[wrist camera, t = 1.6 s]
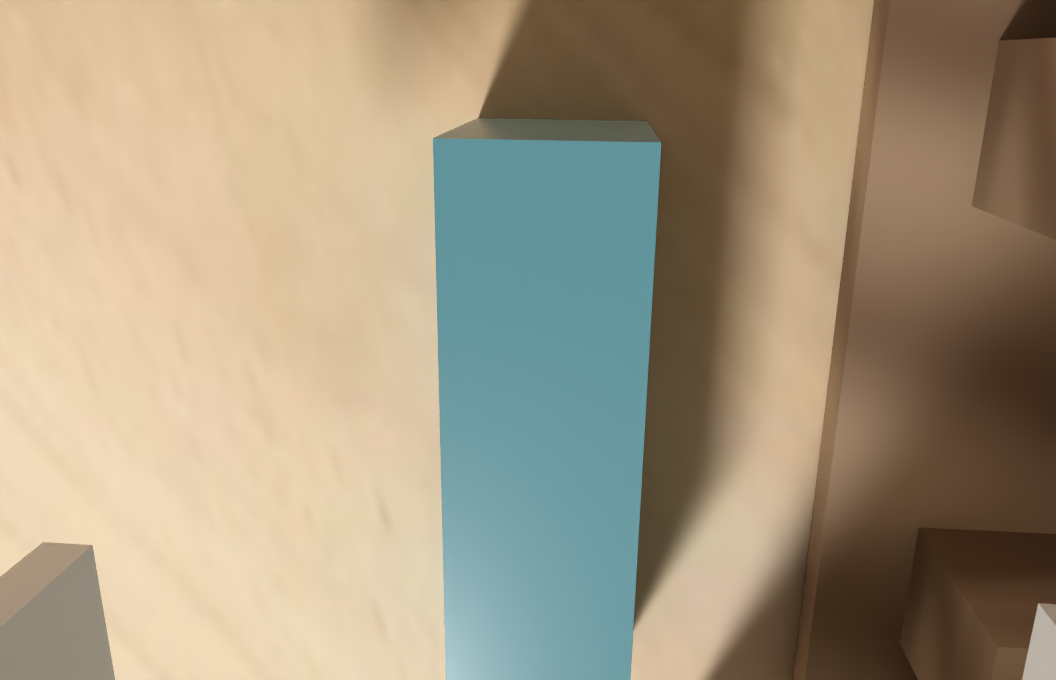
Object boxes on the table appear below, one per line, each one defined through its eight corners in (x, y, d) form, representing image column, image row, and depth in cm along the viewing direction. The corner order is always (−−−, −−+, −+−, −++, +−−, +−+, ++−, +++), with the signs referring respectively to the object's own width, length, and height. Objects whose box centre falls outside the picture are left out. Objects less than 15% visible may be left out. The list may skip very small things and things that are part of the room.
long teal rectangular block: (479, 117, 18) (432, 138, 13) (646, 120, 18) (661, 142, 13) (483, 637, 22) (448, 795, 17) (619, 646, 22) (622, 810, 17)
